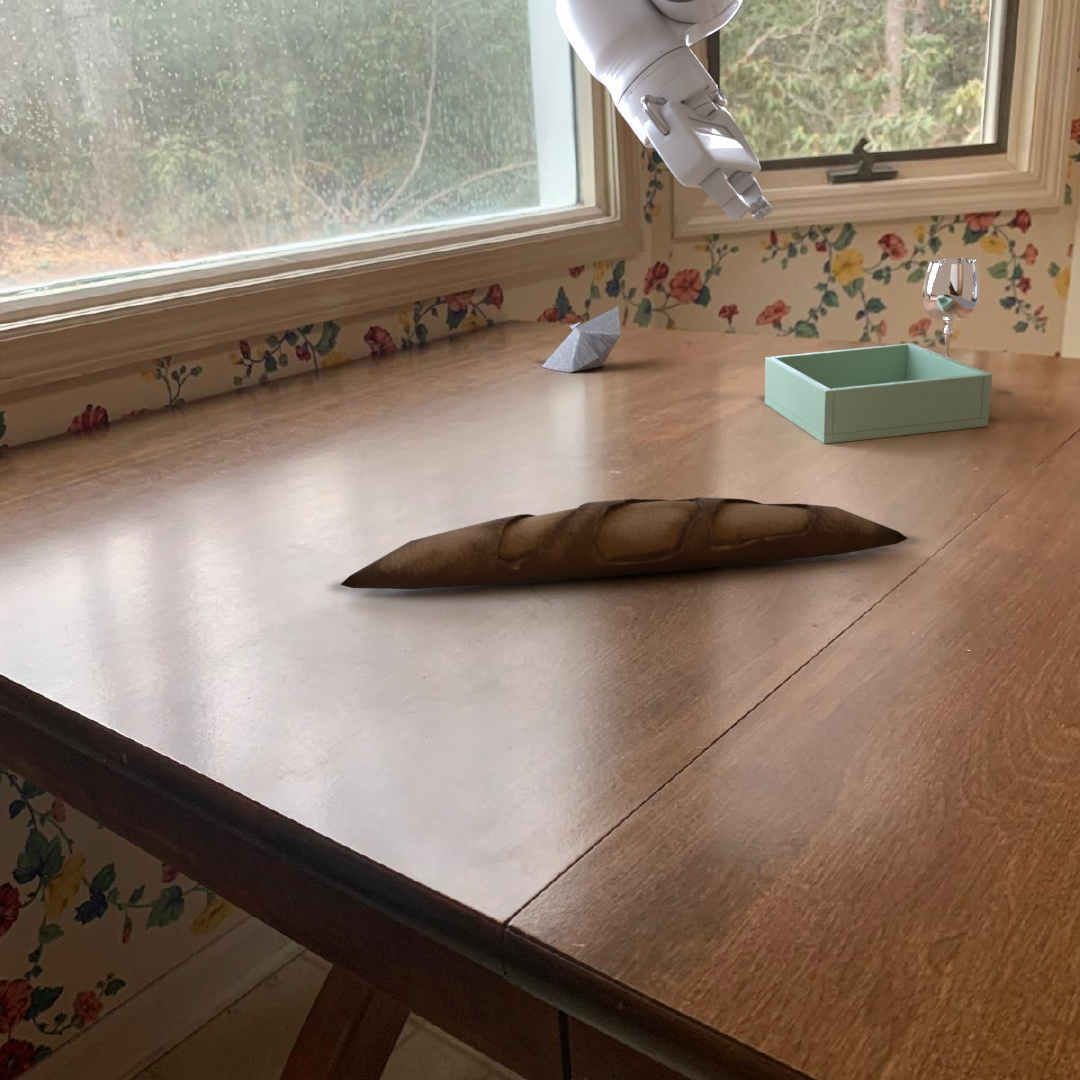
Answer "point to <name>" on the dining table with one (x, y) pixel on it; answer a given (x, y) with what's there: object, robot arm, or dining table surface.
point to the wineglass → (951, 292)
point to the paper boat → (587, 344)
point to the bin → (876, 392)
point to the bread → (622, 542)
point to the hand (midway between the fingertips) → (754, 216)
